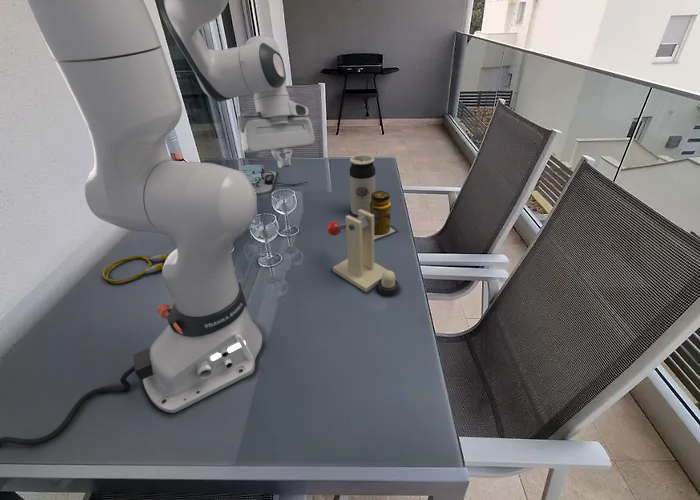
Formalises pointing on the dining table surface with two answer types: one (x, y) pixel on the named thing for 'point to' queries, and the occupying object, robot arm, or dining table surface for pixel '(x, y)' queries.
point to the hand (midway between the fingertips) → (284, 167)
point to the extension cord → (147, 270)
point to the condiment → (381, 213)
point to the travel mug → (361, 182)
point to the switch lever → (344, 225)
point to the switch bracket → (360, 254)
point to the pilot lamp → (388, 284)
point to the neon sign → (261, 178)
